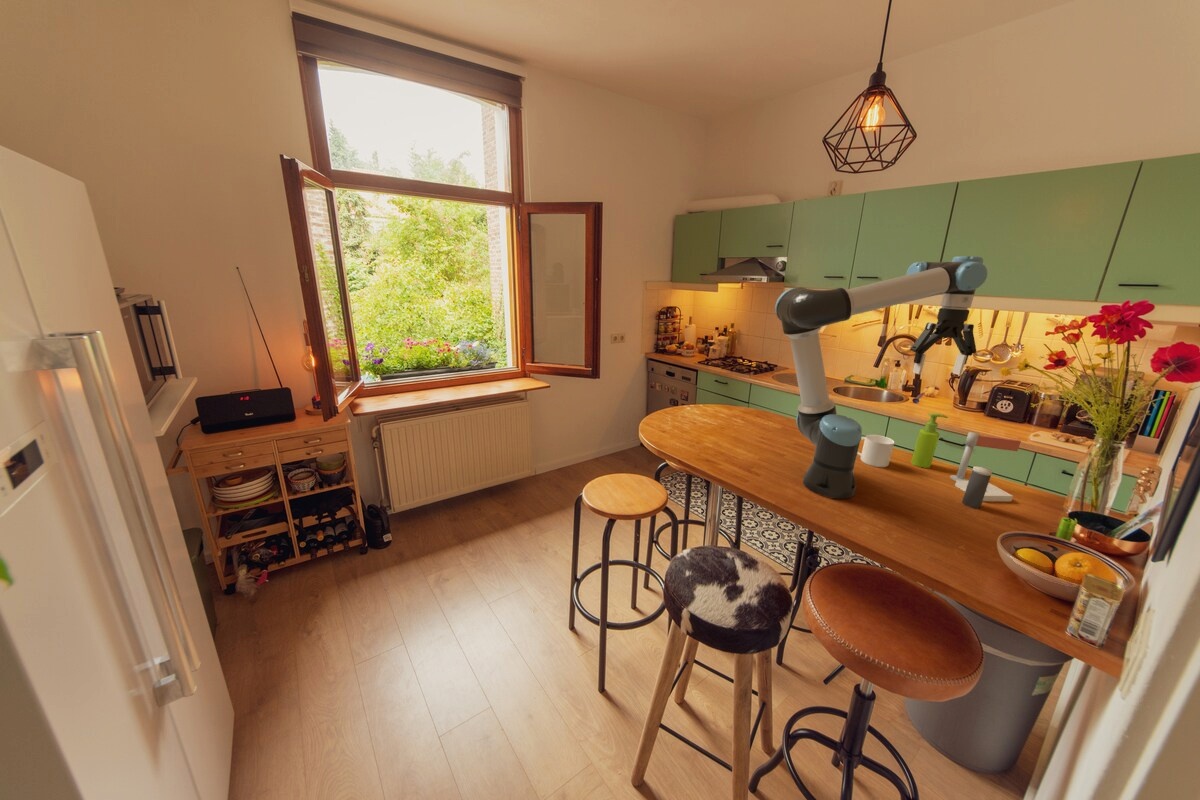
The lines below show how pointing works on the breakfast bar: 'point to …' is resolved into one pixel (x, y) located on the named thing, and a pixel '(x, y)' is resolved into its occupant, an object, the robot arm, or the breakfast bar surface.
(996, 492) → the socket
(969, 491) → the dark grey cylinder
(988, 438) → the clip
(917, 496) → the breakfast bar surface
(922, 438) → the soap dispenser
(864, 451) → the mug
